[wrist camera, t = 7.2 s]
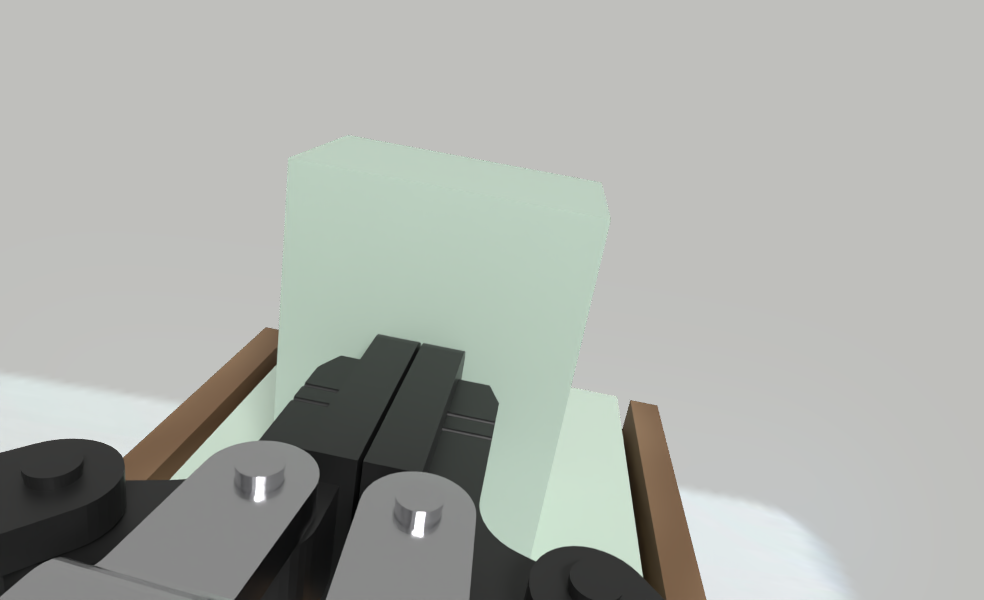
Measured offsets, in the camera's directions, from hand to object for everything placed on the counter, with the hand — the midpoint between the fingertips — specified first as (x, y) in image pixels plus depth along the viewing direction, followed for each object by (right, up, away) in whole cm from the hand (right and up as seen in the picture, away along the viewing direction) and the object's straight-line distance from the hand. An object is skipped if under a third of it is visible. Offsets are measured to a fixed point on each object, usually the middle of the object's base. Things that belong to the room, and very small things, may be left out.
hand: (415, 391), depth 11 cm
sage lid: (0, -2, +5) cm, 6 cm away
